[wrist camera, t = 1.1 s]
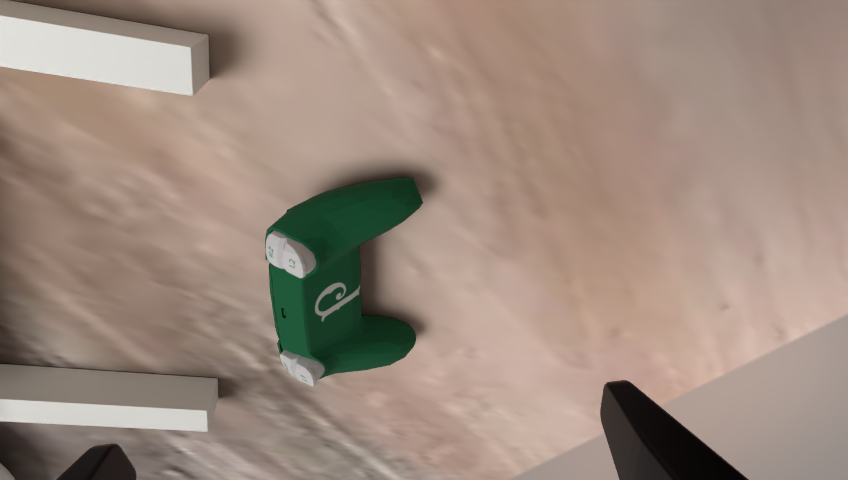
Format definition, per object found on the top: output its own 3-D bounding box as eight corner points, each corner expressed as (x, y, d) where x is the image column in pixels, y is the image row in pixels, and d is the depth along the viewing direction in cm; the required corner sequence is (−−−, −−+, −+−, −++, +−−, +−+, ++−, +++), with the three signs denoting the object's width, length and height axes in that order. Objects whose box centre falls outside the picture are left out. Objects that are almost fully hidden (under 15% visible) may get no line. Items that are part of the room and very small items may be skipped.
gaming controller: (365, 151, 22) (241, 196, 18) (432, 179, 20) (310, 236, 16) (367, 316, 27) (270, 379, 23) (422, 352, 25) (325, 428, 21)
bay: (208, 35, 17) (170, 61, 14) (218, 398, 26) (196, 464, 23) (-193, -35, 15) (-344, -23, 12) (-33, 383, 25) (-95, 453, 21)
